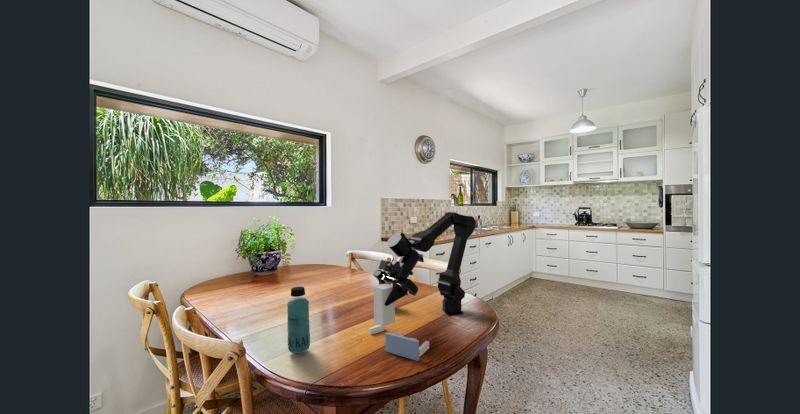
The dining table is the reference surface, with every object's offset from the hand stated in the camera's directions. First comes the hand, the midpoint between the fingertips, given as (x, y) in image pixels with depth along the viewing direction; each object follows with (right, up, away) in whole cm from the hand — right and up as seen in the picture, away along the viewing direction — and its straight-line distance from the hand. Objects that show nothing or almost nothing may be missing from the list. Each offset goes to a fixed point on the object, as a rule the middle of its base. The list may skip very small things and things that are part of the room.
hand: (380, 303), depth 106 cm
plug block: (+1, -7, +1) cm, 7 cm away
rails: (+1, -11, +1) cm, 12 cm away
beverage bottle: (-24, -13, -9) cm, 29 cm away
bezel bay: (+9, -12, -8) cm, 17 cm away
